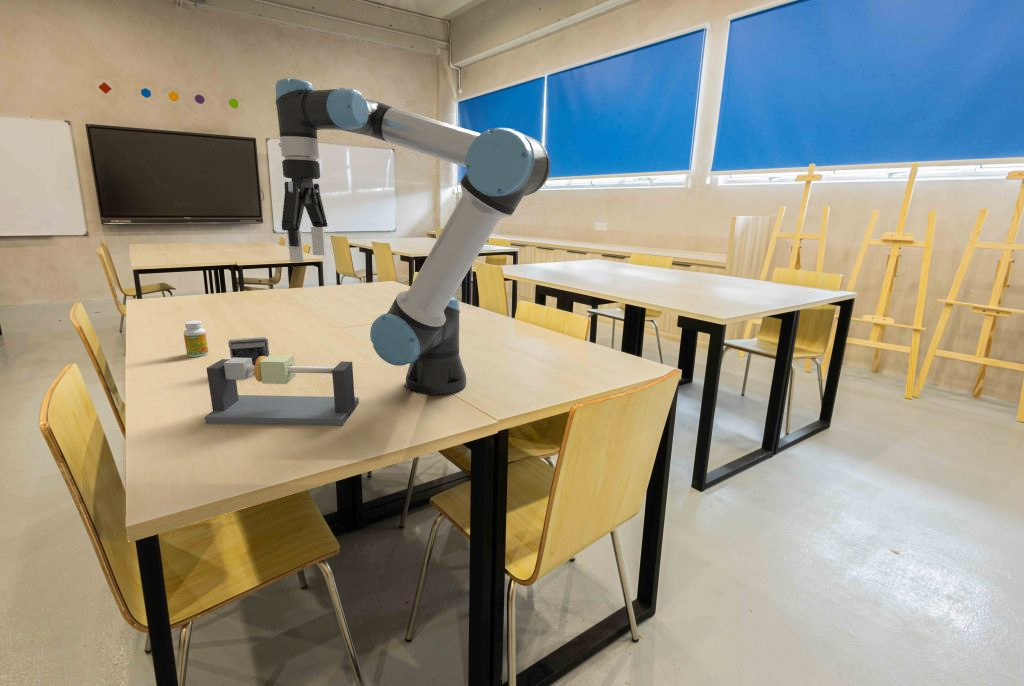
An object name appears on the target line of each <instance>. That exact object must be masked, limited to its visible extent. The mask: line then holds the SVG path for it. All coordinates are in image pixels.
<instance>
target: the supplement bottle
mask: <svg viewBox="0 0 1024 686" xmlns="http://www.w3.org/2000/svg"><path fill="white" fill-rule="evenodd" d="M202 325H203V323H202V321H201V320H189V321H186V322H184V327H185V328H186V329H184V331H183V337H184V338H183V339H184V343H185V344H184V345H185V351H186V356H187V357H191V358H199V357H200V358H201V357H204V356H206V355H208V354H209V347H208V340H207V332H206V330H205V329H204V328H203V326H202Z"/></svg>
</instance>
